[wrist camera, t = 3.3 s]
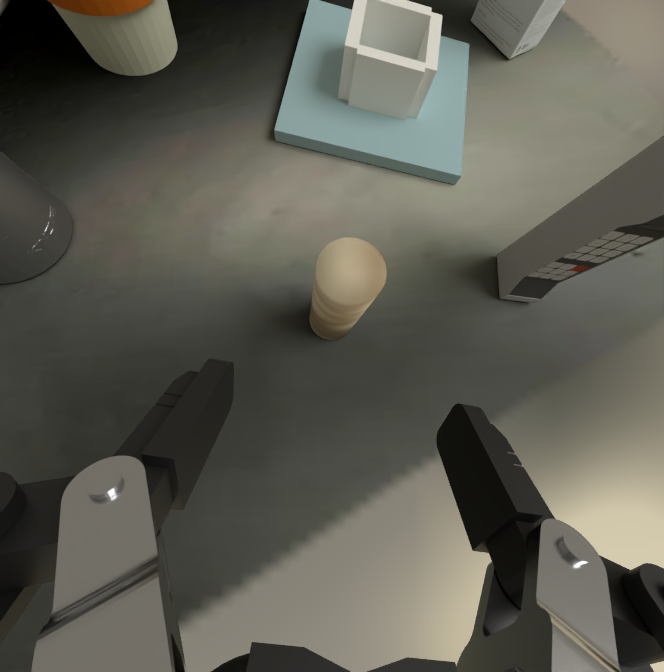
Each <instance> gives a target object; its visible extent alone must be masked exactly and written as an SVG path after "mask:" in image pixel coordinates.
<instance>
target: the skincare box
mask: <svg viewBox="0 0 664 672" xmlns="http://www.w3.org/2000/svg"><path fill="white" fill-rule="evenodd" d="M565 1H566V0H479V2H478V4H477V7H476V9H475V11H474V14H473V16H472V18H471V22H472V23H473V24H474V25H475V26H476V27H477V28H478V29H479V30H480V31H481V32H482V33H483V34H484V35H485V36H486V37H487V38H488V39H489V40H490V41H491V42H492V43H493V44H494V45H495V46H496V47H497V48H498V49H499V50H500V51H501V52H502V53H503V54H504V55H505V56H506V57H507V58H508V59H511V58H513V57H515V56H517V55H519V54H521V53H524V52H526V51H528V50H530V49H533V48H534V47H535V46H536V45H537V44H538V43H539V42H540V40H541V38H542V37H543V35H544V34H545V32H546V31H547V29H548V28H549V26H550V24H551V23H552V21H553V20H554V18H555V17H556V15H557V14H558V12H559V10H560V9H561V7H562V6H563V4H564V3H565Z"/></svg>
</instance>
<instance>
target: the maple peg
mask: <svg viewBox="0 0 664 672" xmlns="http://www.w3.org/2000/svg"><path fill="white" fill-rule="evenodd" d="M386 275H387V271H386V265H385V262H384V259H383V257H382V256H381V254H380V253H379V251H378V250H377V249H376V248H375V247H374V246H372V245H371V244H370V243H368V242H366V241H364V240H361V239H358V238H349V237H348V238H340V239H337V240H334V241H332V242H331V243H329V244H328V245H327V246H325V247H324V249H323V250H322V251H321V253H320V254H319V257H318V259H317V264H316V272H315V279H314V287H313V294H312V302H311V309H310V317H309V321H310V325H311V328H312V330H313V331H314V332H315V334H317V335H318V336H319V337H321V338H323V339H325V340H338V339H341V338H343V337H344V336H345V335H347V334H348V332H349V331H350V330H351V328H352V327H353V326H354V325H355V323H356V322H357V321H358V319H359V318H360V317H361V316H362V314H363V313H364V312H365V310H366V309H367V308H368V307H369V305H370V304H371V303H372V301H373V300H374V299H375V298H376V296H377V295H378V294H379V292H380V291H381V290H382V288H383V286H384V284H385V281H386Z"/></svg>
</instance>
